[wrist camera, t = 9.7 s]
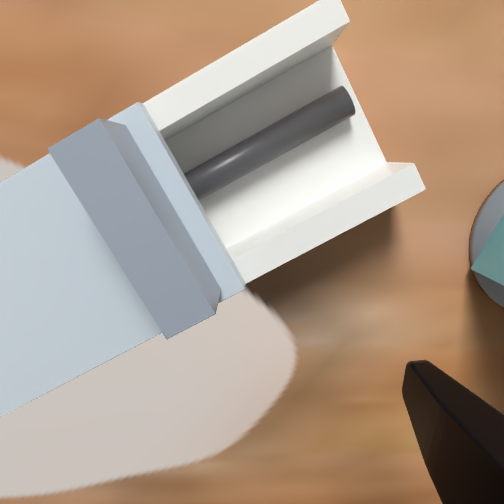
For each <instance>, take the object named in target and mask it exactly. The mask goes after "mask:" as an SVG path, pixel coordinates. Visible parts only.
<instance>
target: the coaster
mask: <svg viewBox="0 0 504 504" xmlns="http://www.w3.org/2000/svg"><path fill="white" fill-rule="evenodd" d="M503 215H504V180H503V181H501V182H500V183H499V184H498V185H497V186H496V187H495V188H494V189H493V190H492V192H491V193H490V194H489V195H488V196H487V198H486V199H485V201H484V202H483V204H482V205H481V207H480V209H479V211H478V213H477V215H476V217H475V220H474V223H473V226H472V230H471V235H470V242H469V255H470V262H471V267H472V265H473V264H474V262H475V260H476V259H477V257H478V255H479V254H480V252H481V251H482V249H483V247H484V246H485V244H486V242H487V241H488V239H489V237H490V236H491V234H492V233H493V231H494V229H495V228H496V226H497V224H498V223H499V221H500V219H501V218H502V216H503ZM473 273H474V276H475V278H476V280H477V282H478V284H479V286H480V287H481V288H482V290H483V291H484V292H485V294H486V295H487V296H488V297H489V298H490V299H491V300H493V301H494V302H495V303H497V304H498V305H499V306H501V307H503V308H504V285H502V284H500V283H498V282H496V281H494V280H492V279H490V278H488V277H486V276H484V275H482V274H480V273H478V272H476V271H474V270H473Z"/></svg>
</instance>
